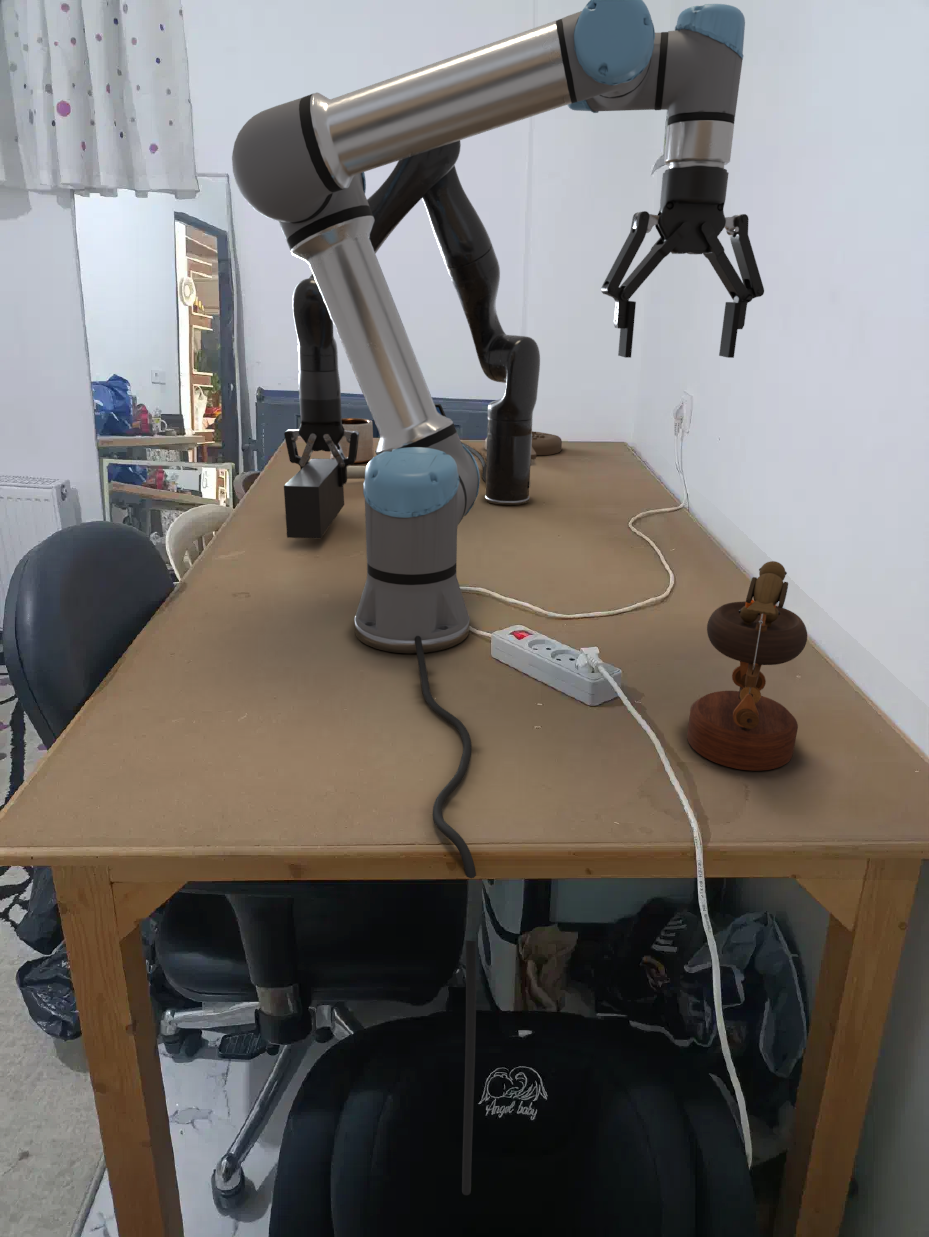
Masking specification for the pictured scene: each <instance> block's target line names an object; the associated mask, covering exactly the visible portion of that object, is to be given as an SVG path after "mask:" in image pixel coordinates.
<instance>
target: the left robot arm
mask: <svg viewBox="0 0 929 1237" xmlns="http://www.w3.org/2000/svg"><path fill="white" fill-rule="evenodd" d="M745 27H746V19H745V15H744V13H743V12H742V10H741V9H740V8H738V7H736V6H734V5H730V4H726V3H705V4H703V5H694V6H691V7H688V8H685V9H683V10H682V11H681V12H680V13H679V15H678V17H677V20H676V25H675V26H674V30H668V31H662V32H655V26H654V22H653V20H652V16H651V13H650V10H649V8H648V6H647V4H646V3H645V1H644V0H589V1H588V2H587V3H586V5H585V6H584V7H583V9H582V10H580V11H578V12H575V13H572V14H569V15H566V16H564V17H562V18H559V19H556V20H553V21H550V22H547V23H545V24H541V25H539V26H536V27H533V28H530V29H528V30H525V31H521V32H519V33H516V34H513V35H511V36H508V37H505V38H501V39H499V40H496V41H492V42H490V43H487V44H484V45H481V46H479V47H475V48H473V49H470V50H467V51H465V52H462V53H459V54H456V55H453V56H450V57H448V58H447V57H446V58H445V59H442V60H439V61H437V62H433V63H430V64H427V65H424V66H422V67H419V68H416V69H413V70H411V71H407V72H404V73H401V74H399V75H396V76H393V77H390V78H387V79H385V80H382V81H379V82H376V83H373V84H370V85H368V86H365V87H362V88H359V89H356V90H352V91H350V92H347V93H345V94H342V95H339V96H336V97H333V98H329V97H327V96H325V95H323V94H322V93H320V92H314V93H311V94H307V95H305V96H303V97H299V98H297V99H293V100H290V101H288V102H285V103H281V104H278V105H275V106H272V107H270V108H267V109H264V110H262V111H260V112H258V113H256V114H254V115H253V116H252V117H251V118H250V119H248V120H247V121H246V122H245V123H244V125H243V126H242V127H241V129H240V130H239V131H238V133H237V135H236V138H235V141H234V143H233V149H232V153H231V163H232V164H231V165H232V174H233V177H234V180H235V184H236V187H237V188H238V190H239V193H240V194H241V196H242V197H243V199H244V200H245V202H246V203H248V205H249V206H250V207H251V208H252V209H253V210H254V211H256V212H257V213H259V214H260V215H262V217H265V218H267V219H270V220H272V221H276V222H278V225H279V227H280V229H281V231H282V234H283V236H284V238H285V242H286V243H287V246H288V248H289V250H290V252H291V255H292V256H294V257H296V258H299V259H301V260H303V261H305V262H306V263H307V264H308V265H309V269H310V270H311V272H312V273H313V275H314V278H315V280H316V282H317V285H318V287H319V290H320V292H321V294H322V297H323V299H324V302H325V304H326V306H327V309H328V311H329V314H330V316H331V318H332V321H333V327H334V328H335V330H336V333H337V336H338V338H339V340H340V342H341V345H342V347H343V350H344V352H345V354H346V357H347V359H348V361H349V364H350V367H351V369H352V372H353V373H354V376H355V378H356V381H357V383H358V385H359V388H360V390H361V393H362V395H363V398H364V400H365V403H366V406H367V408H368V410H369V412H370V414H371V417H372V419H373V422H374V424H375V427H376V429H377V431H378V434H379V441H378V444H377V446H376V449H375V451H374V452H375V455H374V457H373V458H372V459H371V460H370V461H368V463H367V464H366V465H365V466H366V470H365V479H364V481H363V485H362V486H363V490H362V493H363V497H364V515H365V516H364V517H365V518H364V519H365V545H366V547H365V548H366V579H365V584H364V586H363V589H362V592H361V596H360V600H359V602H358V606H357V609H356V612H355V615H354V633H355V636H356V638H357V639H358V640H359V641H360V642H362V643H363V644H365V645H367V646H368V647H371V648H374V649H377V650H380V651H384V652H390V653H396V654H397V653H398V654H416V657H417V663H418V670H419V676H420V682H421V691H422V695H423V697H424V700H425V702H426V703H427V705H428V706H429V707H430V709H431V710H432V711H433V712H434V713H435V714H436V715H438V716H439V717H441V718H442V719H443V720H445V721H447V722H448V723H449V724H450V725H452V726H453V727H454V728H455V729H456V730H457V732H458V733H459V735H460V737H461V740H462V753H461V758H460V761H459V765H458V768H457V770H456V773H455V774H454V775H453V777H452V778H451V779H450V781H449V782H448V783H447V784H446V785H445V786H444V787H443V788H442V789H441V791H440V792H439V793H438V795H437V796H436V798H435V800H434V803H433V806H432V820H433V822H434V824H435V826H436V828H437V829H438V830H439V831H440V832H441V833H442V834H443V835H444V836H445V837H446V838H447V839H448V840H450V842H451V843H453V845H454V846H455V847H456V849H457V850H458V853H459V855H460V858H461V860H462V864H463V870H464V873H465V876H466V877H467V878H468V879H474V878H475V877H476V876H477V872H476V867H475V862H474V859H473V855H472V853H471V851H470V848H469V846H468V844H467V842H466V841H465V840H464V839H463V837H462V836H461V834H460V833H458V832H457V831H456V830H455V829H454V828H453V827H451V825H450V824H448V823H447V822H446V821H445V819H444V817H443V808H444V805H445V803H446V801H447V799H449V797H450V796H451V795H452V794H453V792H454V791H455V790H456V789H457V787H458V786H459V785H460V784H461V783H462V781H463V780H464V778H465V776H466V774H467V771H468V768H469V764H470V761H471V755H472V748H473V746H472V739H471V736H470V733H469V731H468V729H467V728H466V726H465V725H464V724H463V722H462V721H461V720H460V719H459V718H457V717H456V716H455V715H453V714H452V713H451V712H449V711H448V710H446V709H444V708H443V707H442V706H441V705H440V704H438V702H436V700H435V699H434V697H433V695H432V692H431V688H430V680H429V676H428V670H427V665H426V659H425V653H433V652H439V651H443V650H446V649H449V648H452V647H455V646H457V645H458V644H460V643H462V642H463V641H464V640H466V639H467V637H468V636H469V634H470V615H469V612H468V608H467V606H466V601H465V599H464V596H463V593H462V589H461V586H460V583H459V581H458V577H457V561H458V560H457V559H458V558H457V557H458V556H457V554H458V552H457V551H458V526H459V525H460V523H461V522H462V520H463V519H464V517H465V516H467V515H468V513H469V512H470V511H471V510H472V509H473V508H474V507H473V506H474V505H475V502H476V501H477V497H478V495H479V490H480V483H481V476H480V469H479V465H478V462H477V460H476V458H475V456H474V454H472V452H471V451H470V450H468V449H467V448H466V447H465V446H464V445H462V443H463V442H462V441H461V439H460V436H459V434H458V431H457V429H456V426H455V423H454V421H453V420H452V419H451V418H449V417H447V416H446V417H444V416H442V415H440V414H439V413H438V412H437V410H436V407H435V405H434V404H435V402H434V400H433V397H432V395H431V392H430V390H429V387H428V385H427V382H426V379H425V377H424V375H423V372H422V369H421V366H420V364H419V361H418V359H417V356H416V354H415V351H414V348H413V345H412V344H411V341H410V339H409V336H408V333H407V331H406V328H405V326H404V323H403V320H402V317H401V315H400V312H399V310H398V308H397V306H396V303H395V300H394V298H393V294H392V293H391V290H390V288H389V285H388V283H387V280H386V278H385V274H384V272H383V269H382V268H381V264H380V262H379V259H378V257H377V255H376V254H377V253H376V254H375V252H374V249H373V247H372V244H371V241H370V239H369V237H370V232H371V229H372V226H373V223H374V221H375V220H374V217H373V214H372V212H371V209H370V206H369V204H368V201H367V199H368V198H367V197H366V190H367V183H366V182H367V181H366V174H365V172H367V171H372V170H374V169H377V168H381V167H383V166H386V165H390V164H392V163H396V162H398V161H399V160H402V159H405V158H408V157H411V156H414V155H417V154H420V153H423V152H426V151H429V150H432V149H435V148H438V147H441V146H444V145H447V144H450V143H453V142H456V141H459V140H460V141H463V140H465V139H468V138H471V137H474V136H477V135H480V134H483V133H486V132H489V131H492V130H495V129H498V128H501V127H505V126H507V125H510V124H513V123H517V122H519V121H523V120H525V119H528V118H531V117H534V116H537V115H541V114H544V113H546V112H549V111H552V110H553V111H554V110H556V109H559V108H562V107H565V106H567V107H568V108H569V109H570V110H572V111H579V112H591V113H593V114H598V113H599V112H621V111H651V110H653V111H666V110H667V111H668V118H667V126H666V138H665V148H664V159H663V163H664V165H665V166H668V169H665V170H664V172H662V177H661V179H662V180H661V190H660V200H659V209H658V212H657V214H652V213H649V211H647V210H644V211H643V210H642V211H638V212H635V213H634V214H633V216H632V220H631V226H630V232H629V233H628V235H627V238H626V240H625V241H624V243H623V245H622V247H621V249H620V251H619V253H618V254H617V256H616V258H615V260H614V262H613V264H612V266H611V268H610V270H609V272H608V274H607V275H606V278H605V279H604V281H603V283H602V284H601V288H600V291H601V293H602V294H603V295H606V296H608V297H610V298H613V300H614V316H613V326H614V328H615V329H619V342H618V352H617V356H618V357H622V358H630V359H631V358H632V353H633V352H632V351H633V339H634V330H635V329H634V328H635V317H636V304H637V301H633V300H630V299H631V298H632V296H633V295H634V294H635V293H636V291H637V290H638V289H639V288H640V287H641V286H642V285H643V283H644V282H645V281H646V280H647V279H648V277H649V276H650V275H651V274H652V273H653V272H654V270H655V269H657V267H658V266H659V264H660V263H661V262H662V261H663V260H664V259H665V258H666V257H667V256H669V255H670V253H671V255H685V254H688V255H703V256H704V257H705V258H706V259H707V260H708V262H709V263H710V265H711V266H712V269H713V270H714V272H715V273H716V274H717V276H718V279H720V281H721V283H722V285H723V286H724V288H725V290H726V291H727V293H728V294H729V296H730V297H731V299H732V300H733V301H726V302H725V305H724V313H723V320H722V329H721V337H720V345H719V351H718V352H719V353H718V356H719V357H723V358H729V359H733V358H735V353H736V346H737V337H738V330H743V329H744V327H745V324H746V323H745V322H746V316H747V308H748V304H749V303H750V302H752V300H753V299H755V298H760V297H763V295H764V294H765V287H764V285H763V281H762V278H761V275H760V271H759V267H758V264H757V260H756V257H755V253H754V249H753V247H752V243H751V239H750V237H749V215H748V214H746V213H742V214H741V213H740V214H735V215H732V216H726V217H725V212H724V207H725V203H726V198H727V190H728V181H729V172H728V170H727V169H726V168H725V166H727V165H728V164H729V163H730V162H731V156H732V148H733V139H734V130H735V122H736V121H735V120H736V114H737V106H738V97H739V91H740V82H741V74H742V67H743V59H744V43H745V42H744V41H745ZM653 227H654V228H655V229H656V231H657V233H658V235H659V238H658V239H657V240H656V242H655V243H654V244H653V245H652V246H651V248H650V250H649V252H648V253H647V254H646V255H645V256H644V258H642V259H641V261H640V262H639V263H638V264H637V266H636V267H635V268H634V270H632V272H631V273H630V274H629V276H628V277H627V278H626V279H625V280H624V278H625V276H626V274H627V272H628V270H629V268H630V267H631V265H632V263H633V261H634V259H635V257H636V255H637V254H638V252H639V249H640V247H641V246H642V244H643V242H644V240H645V237H646V235H647V234H648V233H650V232H651V231H652V229H653ZM724 229H725V231H726V234H727V235H728V236H729V240H730V244H731V248H732V250H733V254H734V258H735V261H736V263H737V268H738V270H739V274H740V276H739V274H738V272H737V271H736V269H735V267H734V266H733V264H732V262H731V260H730V258H729V257H728V256H727V254H726V251H725V248H724V246H723V244H722V242H721V241H720V239H719V236H720V234H721V233H722V231H724ZM312 273H311V274H312ZM623 280H624V282H623ZM622 282H623V283H622ZM461 442H462V443H461ZM476 1022H477V941H476V940H465V1046H464V1048H465V1049H464V1051H465V1054H464V1055H465V1056H464V1091H463V1092H464V1093H463V1094H464V1095H463V1124H462V1126H463V1128H462V1162H461V1164H462V1165H461V1166H462V1168H461V1169H462V1170H461V1178H462V1180H461V1192H462V1195H464V1196H469V1195H470V1194H471V1193H472V1192H471V1191H472V1163H473V1162H472V1157H473V1129H474V1128H473V1127H474V1098H475V1097H474V1096H475V1071H476V1070H475V1068H476V1032H477V1030H476V1029H477V1028H476V1026H477V1024H476Z"/></svg>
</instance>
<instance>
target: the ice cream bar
mask: <svg viewBox="0 0 929 1237" xmlns="http://www.w3.org/2000/svg"><path fill="white" fill-rule="evenodd" d="M562 446H563V441H562V438H561V437H560V436H559V435H556V434H551V433H547V432H540V431H532V443H531V460H537V456H548V455H554V454H558V453H560V452H561V451H562ZM484 449H485V450H486V451H487V437H486V438H485V439H484Z"/></svg>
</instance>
